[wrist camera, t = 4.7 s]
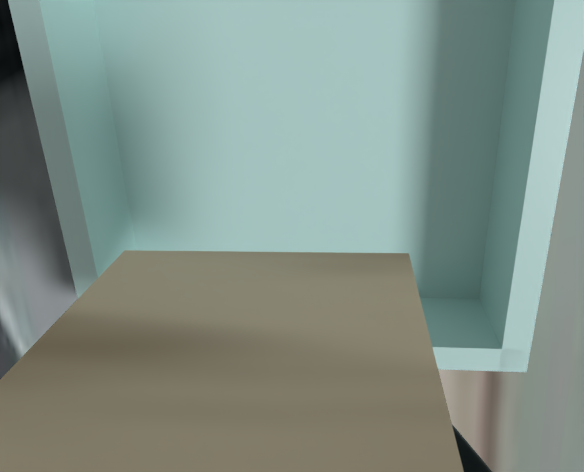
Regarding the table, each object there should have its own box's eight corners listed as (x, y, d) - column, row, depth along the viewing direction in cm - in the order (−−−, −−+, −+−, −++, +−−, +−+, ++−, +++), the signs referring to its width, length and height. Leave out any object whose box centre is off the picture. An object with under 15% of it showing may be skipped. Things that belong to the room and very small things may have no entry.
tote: (495, 310, 18) (526, 372, 15) (132, 302, 20) (91, 357, 17) (573, -251, 12) (653, -345, 9) (39, -202, 14) (-55, -267, 11)
